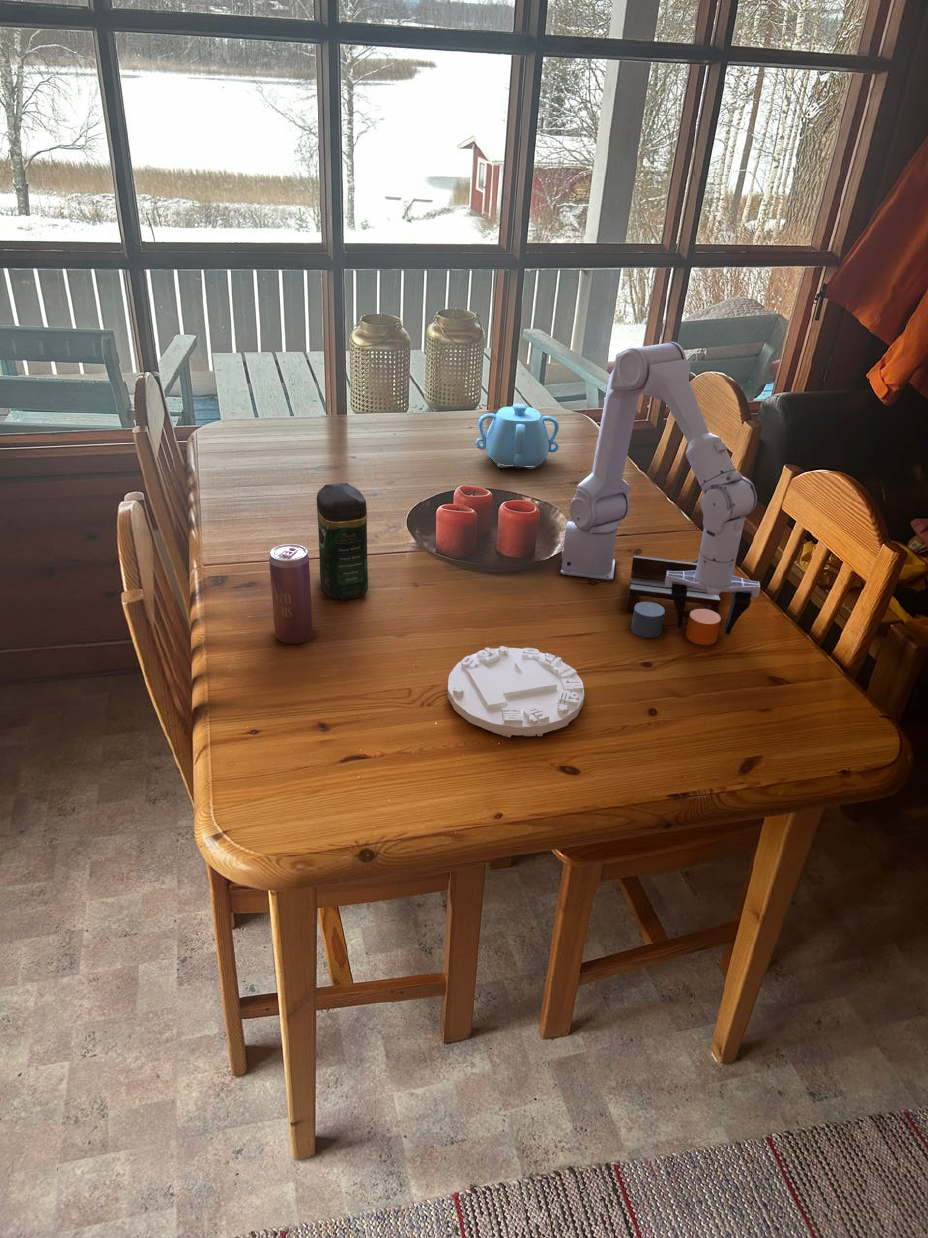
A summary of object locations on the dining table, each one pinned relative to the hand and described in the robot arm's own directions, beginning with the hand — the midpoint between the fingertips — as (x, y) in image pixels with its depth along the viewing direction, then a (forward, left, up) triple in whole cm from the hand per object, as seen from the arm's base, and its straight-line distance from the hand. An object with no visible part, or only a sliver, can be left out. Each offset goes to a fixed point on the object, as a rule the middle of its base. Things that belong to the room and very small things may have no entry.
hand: (703, 628), depth 150 cm
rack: (-5, +10, -2) cm, 11 cm away
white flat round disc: (-28, -24, -2) cm, 37 cm away
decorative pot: (-41, +70, -2) cm, 81 cm away
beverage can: (-65, -16, -2) cm, 67 cm away
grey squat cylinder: (-9, 0, -2) cm, 9 cm away
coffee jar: (-62, +1, -2) cm, 62 cm away
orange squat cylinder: (0, 0, -2) cm, 2 cm away
